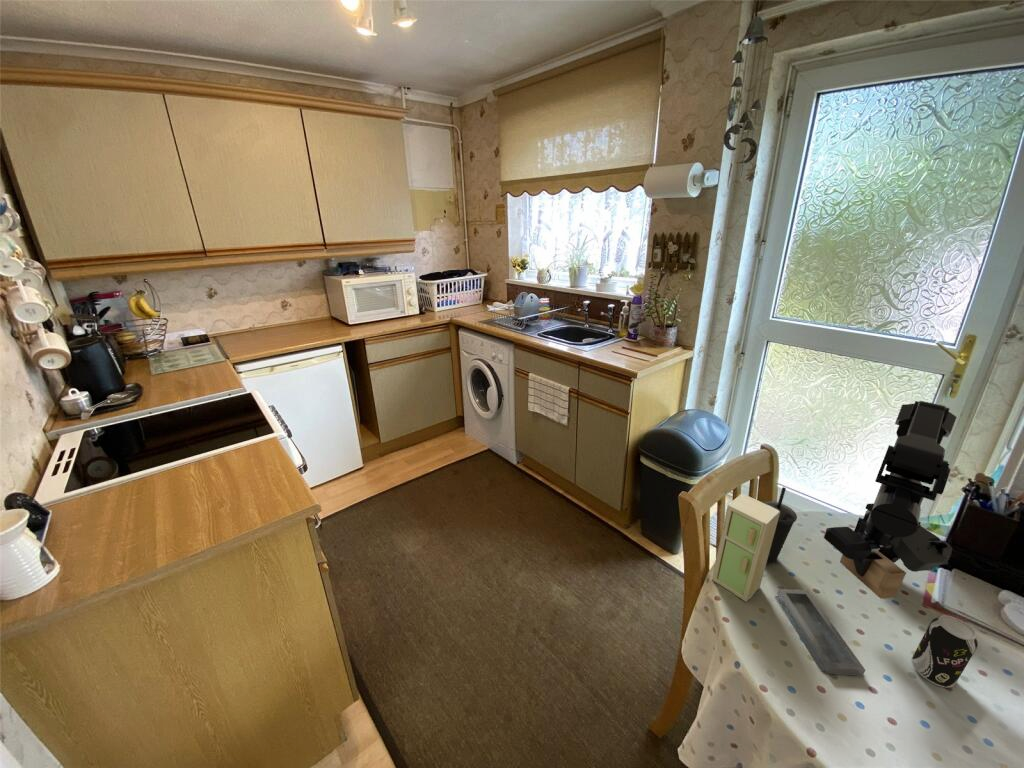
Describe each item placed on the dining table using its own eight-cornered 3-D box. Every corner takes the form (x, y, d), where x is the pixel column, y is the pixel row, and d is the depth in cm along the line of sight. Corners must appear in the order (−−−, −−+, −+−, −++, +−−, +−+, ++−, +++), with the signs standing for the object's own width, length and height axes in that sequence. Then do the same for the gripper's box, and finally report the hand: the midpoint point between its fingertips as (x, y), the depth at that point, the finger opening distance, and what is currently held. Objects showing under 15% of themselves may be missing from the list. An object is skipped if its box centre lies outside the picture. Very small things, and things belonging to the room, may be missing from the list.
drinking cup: (745, 560, 99) (764, 491, 92) (748, 540, 105) (765, 474, 98) (782, 573, 95) (805, 502, 88) (782, 552, 101) (803, 484, 94)
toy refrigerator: (708, 580, 93) (725, 505, 86) (724, 565, 98) (742, 492, 90) (744, 604, 87) (766, 526, 80) (760, 587, 92) (782, 511, 84)
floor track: (773, 595, 90) (775, 588, 89) (808, 597, 89) (810, 590, 88) (823, 674, 74) (826, 667, 73) (865, 677, 73) (868, 670, 73)
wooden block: (839, 562, 85) (848, 538, 82) (853, 561, 85) (862, 538, 83) (880, 598, 76) (891, 574, 74) (895, 597, 76) (906, 572, 74)
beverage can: (917, 682, 73) (943, 634, 68) (904, 653, 78) (927, 607, 73) (960, 696, 70) (990, 647, 66) (944, 665, 75) (970, 618, 71)
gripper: (890, 543, 66) (860, 613, 72) (992, 536, 68) (955, 605, 73) (833, 500, 77) (811, 565, 82) (923, 495, 78) (895, 559, 84)
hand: (867, 574), depth 80 cm, fingers closed on wooden block, 3 cm apart
